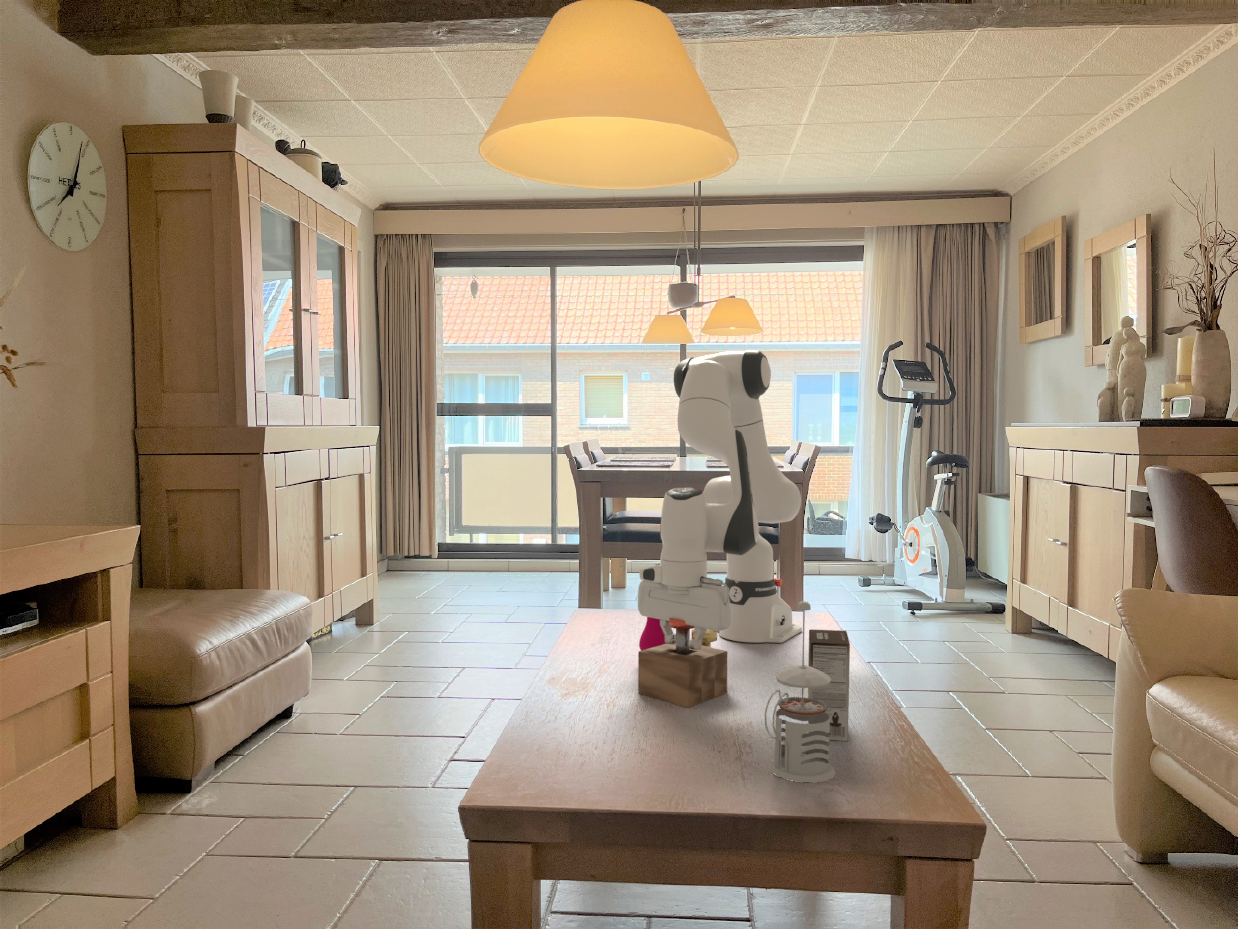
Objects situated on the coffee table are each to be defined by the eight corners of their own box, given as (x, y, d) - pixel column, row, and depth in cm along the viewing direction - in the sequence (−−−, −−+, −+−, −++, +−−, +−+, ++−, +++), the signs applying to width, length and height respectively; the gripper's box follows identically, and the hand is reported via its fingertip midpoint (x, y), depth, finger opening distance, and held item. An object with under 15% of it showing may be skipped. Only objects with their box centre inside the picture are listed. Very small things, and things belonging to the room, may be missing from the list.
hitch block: (677, 679, 168) (678, 640, 167) (726, 692, 160) (727, 651, 159) (638, 693, 159) (638, 651, 159) (688, 707, 151) (688, 663, 150)
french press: (850, 773, 122) (853, 603, 121) (792, 792, 116) (795, 612, 115) (801, 752, 130) (803, 592, 129) (744, 767, 124) (747, 600, 123)
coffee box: (806, 720, 145) (808, 628, 144) (844, 722, 144) (846, 630, 143) (808, 739, 136) (810, 641, 135) (849, 742, 134) (851, 643, 134)
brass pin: (701, 670, 174) (701, 627, 174) (721, 675, 171) (722, 631, 171) (686, 675, 171) (686, 631, 170) (706, 681, 167) (706, 635, 167)
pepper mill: (673, 661, 181) (674, 569, 181) (672, 670, 174) (673, 575, 173) (640, 660, 182) (640, 568, 181) (637, 669, 175) (638, 574, 174)
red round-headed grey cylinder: (680, 660, 163) (680, 613, 162) (701, 665, 159) (702, 617, 159) (663, 665, 159) (663, 617, 158) (684, 670, 155) (685, 622, 155)
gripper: (738, 578, 154) (737, 653, 154) (653, 566, 168) (653, 634, 168) (718, 583, 149) (717, 660, 150) (632, 569, 163) (632, 640, 163)
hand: (682, 646), depth 159 cm, fingers closed on red round-headed grey cylinder, 5 cm apart
